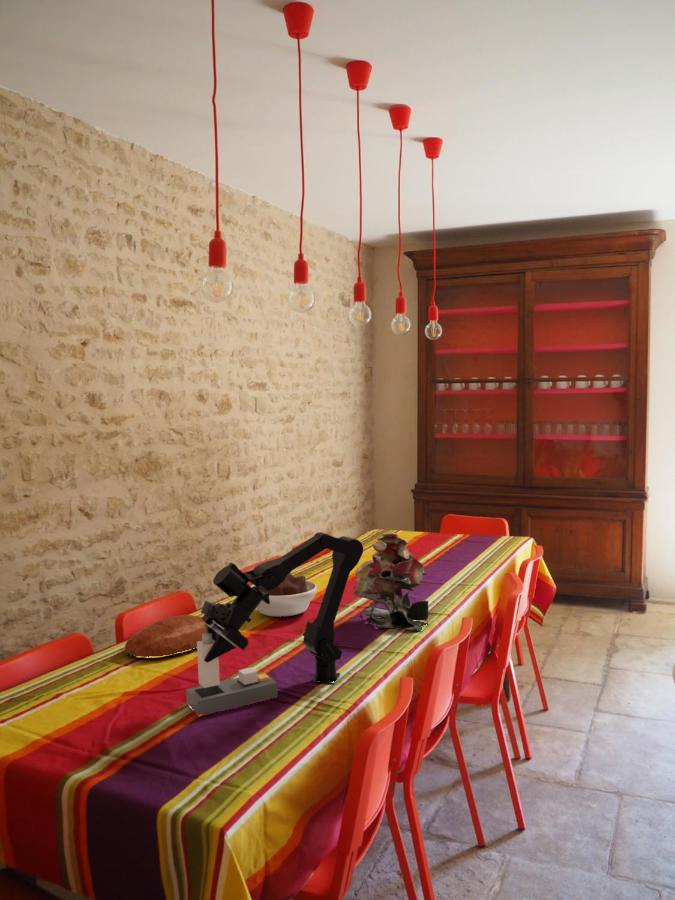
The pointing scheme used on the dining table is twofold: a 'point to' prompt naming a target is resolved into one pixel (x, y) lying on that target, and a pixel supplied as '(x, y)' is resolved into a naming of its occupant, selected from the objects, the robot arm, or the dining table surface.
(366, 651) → the dining table surface
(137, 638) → the bread
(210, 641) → the plug
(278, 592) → the white dessert bowl
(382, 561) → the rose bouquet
